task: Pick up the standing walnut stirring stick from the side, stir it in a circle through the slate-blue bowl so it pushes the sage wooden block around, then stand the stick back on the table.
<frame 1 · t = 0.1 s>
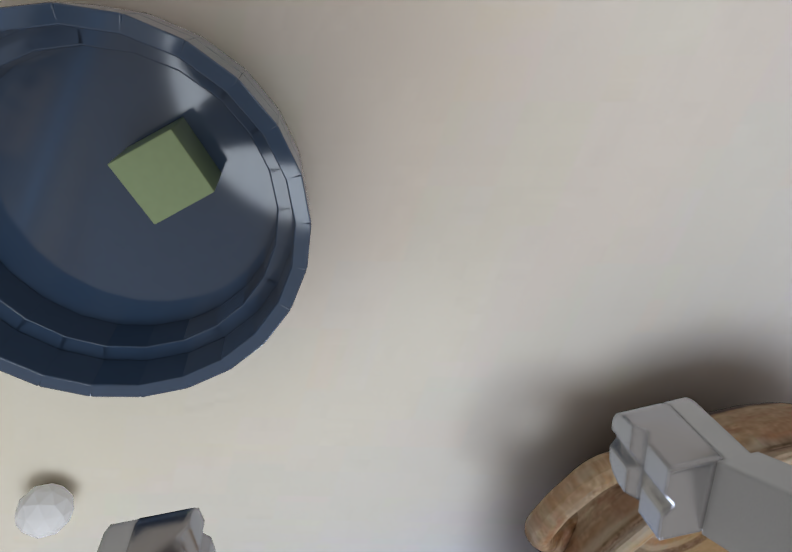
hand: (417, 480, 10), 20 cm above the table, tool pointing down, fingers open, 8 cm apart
block: (175, 161, 25), point 1 cm above the table, touching bowl
polyhedron: (56, 487, 33), on the table
ceramic bowl: (657, 490, 44), on the table
bowl: (134, 195, 26), on the table
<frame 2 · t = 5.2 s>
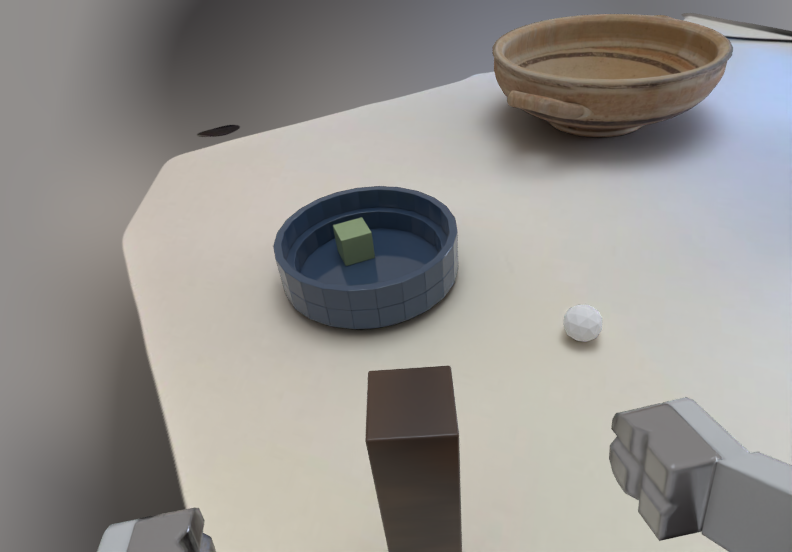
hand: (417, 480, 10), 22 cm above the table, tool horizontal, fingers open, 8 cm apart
block: (356, 254, 53), point 1 cm above the table, touching bowl
polyhedron: (579, 338, 43), on the table
ceramic bowl: (593, 119, 75), on the table
bowl: (371, 274, 52), on the table
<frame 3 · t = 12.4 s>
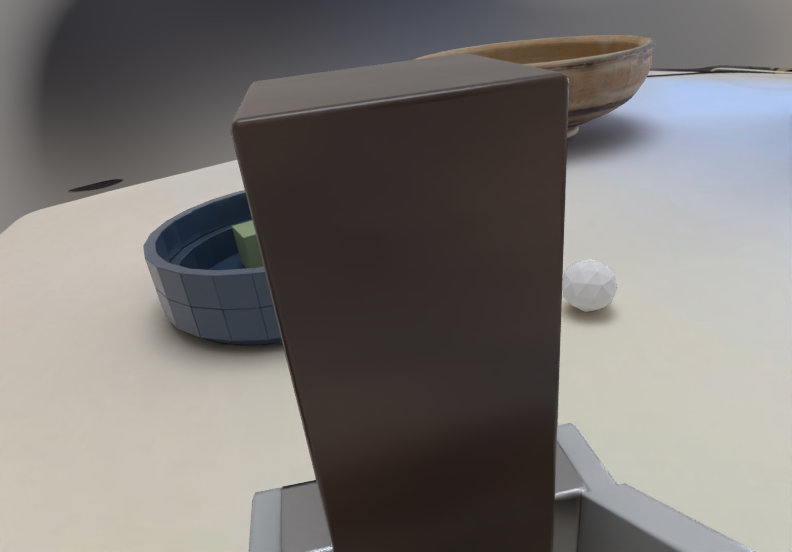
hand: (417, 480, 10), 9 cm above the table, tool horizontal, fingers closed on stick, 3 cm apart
block: (266, 263, 39), point 1 cm above the table, touching bowl
polyhedron: (586, 311, 31), on the table
ceramic bowl: (524, 135, 69), on the table
bowl: (289, 284, 38), on the table
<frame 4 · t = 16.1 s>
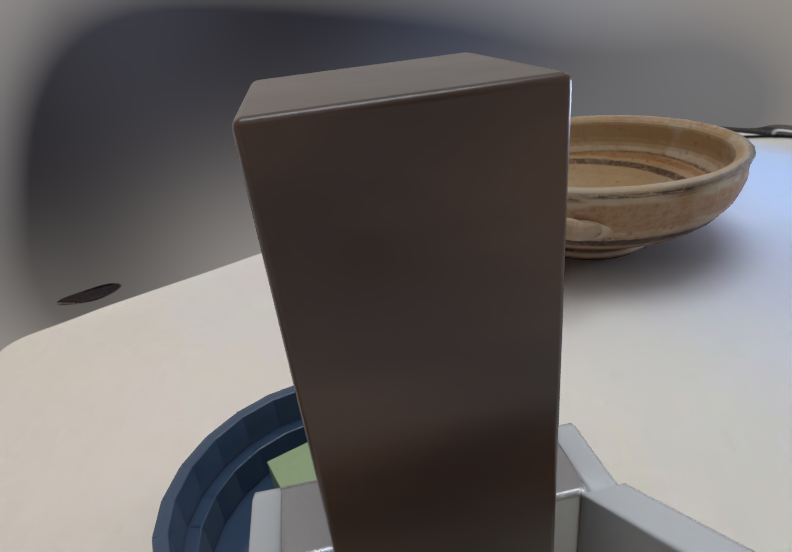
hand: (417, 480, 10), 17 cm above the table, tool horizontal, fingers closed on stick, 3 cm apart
block: (312, 504, 30), point 1 cm above the table, touching bowl
ceramic bowl: (585, 236, 60), on the table
bowl: (345, 546, 28), on the table
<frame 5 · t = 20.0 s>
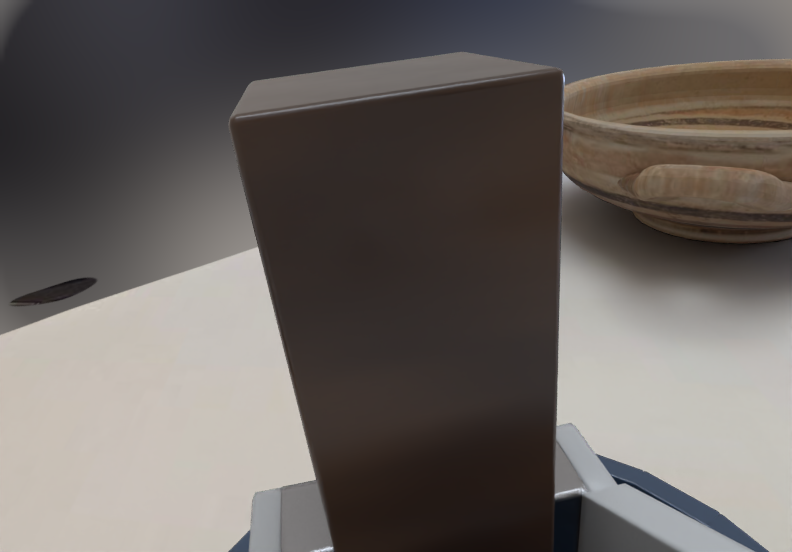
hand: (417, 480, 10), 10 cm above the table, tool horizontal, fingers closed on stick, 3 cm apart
ceramic bowl: (716, 215, 45), on the table
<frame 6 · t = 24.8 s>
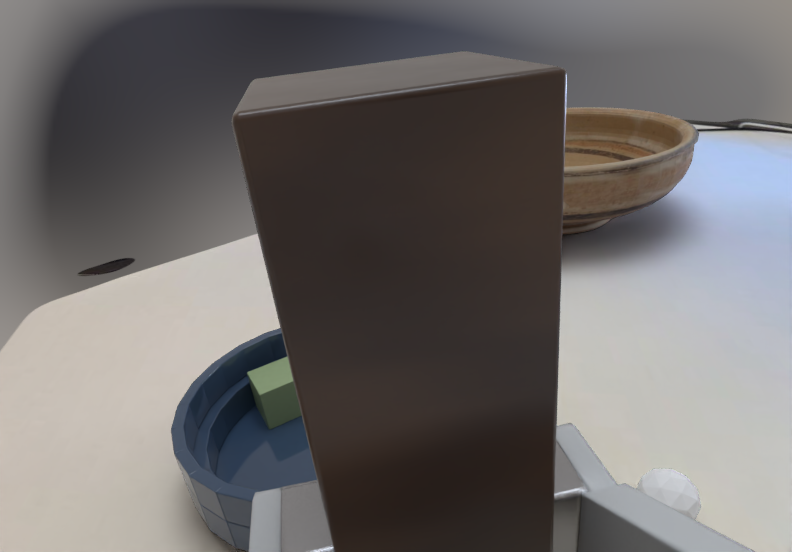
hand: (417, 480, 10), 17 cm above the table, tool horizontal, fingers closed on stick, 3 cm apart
block: (283, 408, 38), point 1 cm above the table, touching bowl
polyhedron: (663, 521, 28), on the table
ceramic bowl: (554, 216, 66), on the table
bowl: (326, 450, 35), on the table
when the fingers open (8 cm above the table, at t = 28.5 s): stick stays where it is, on the table.
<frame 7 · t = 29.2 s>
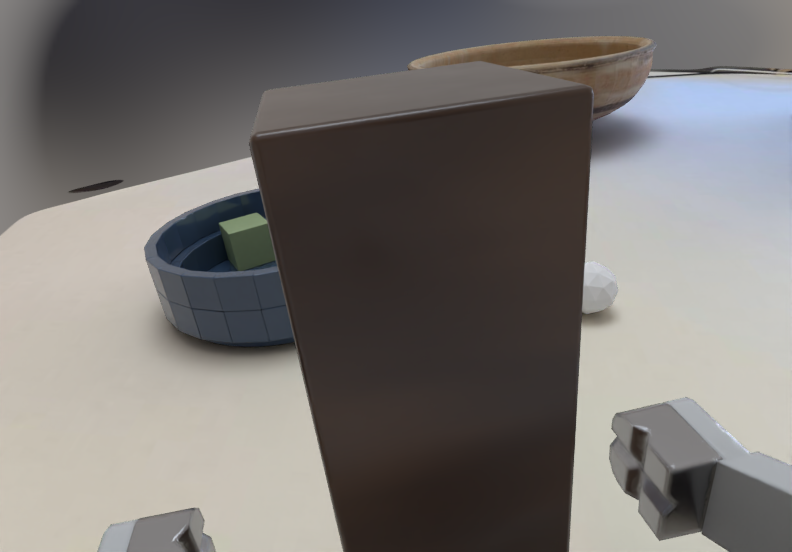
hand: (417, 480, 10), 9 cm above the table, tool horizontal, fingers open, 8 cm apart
block: (252, 259, 41), point 1 cm above the table, touching bowl
polyhedron: (587, 313, 31), on the table
ceramic bowl: (524, 136, 69), on the table
bowl: (290, 286, 38), on the table
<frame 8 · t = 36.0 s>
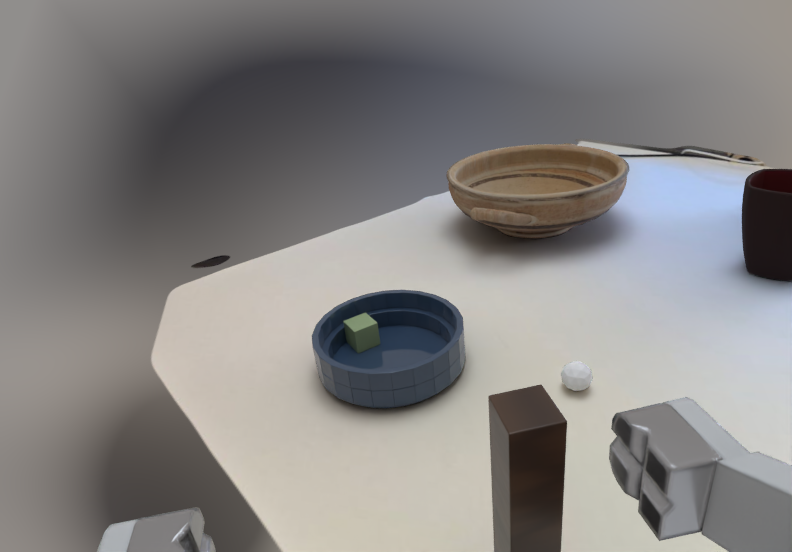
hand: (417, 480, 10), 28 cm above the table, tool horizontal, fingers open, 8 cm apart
block: (363, 343, 64), point 1 cm above the table, touching bowl
mug: (776, 265, 71), on the table
polyhedron: (575, 389, 54), on the table
ceramic bowl: (533, 225, 92), on the table
bowl: (392, 363, 61), on the table
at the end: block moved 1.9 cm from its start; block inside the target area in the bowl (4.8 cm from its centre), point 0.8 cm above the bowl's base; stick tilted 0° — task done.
